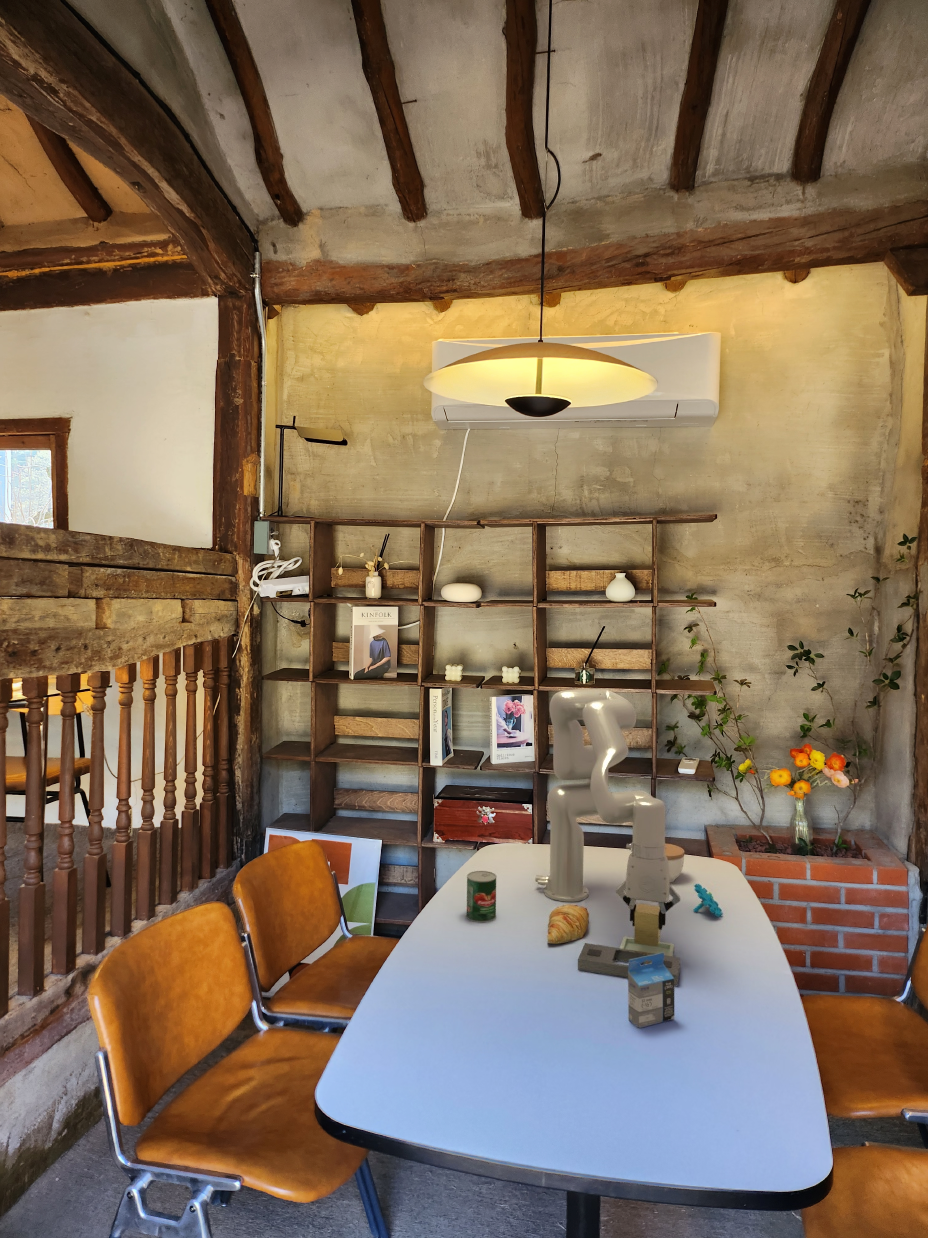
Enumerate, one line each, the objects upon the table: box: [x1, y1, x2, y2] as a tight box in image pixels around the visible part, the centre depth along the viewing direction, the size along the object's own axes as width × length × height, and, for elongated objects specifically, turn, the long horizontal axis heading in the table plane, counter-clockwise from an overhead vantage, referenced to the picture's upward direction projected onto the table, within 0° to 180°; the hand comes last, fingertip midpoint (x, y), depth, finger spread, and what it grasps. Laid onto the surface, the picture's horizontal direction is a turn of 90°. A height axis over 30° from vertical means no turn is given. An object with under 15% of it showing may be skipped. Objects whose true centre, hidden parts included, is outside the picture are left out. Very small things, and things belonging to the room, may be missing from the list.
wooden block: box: [633, 902, 661, 946], centre depth 188 cm, size 6×6×8 cm
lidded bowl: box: [665, 842, 685, 883], centre depth 239 cm, size 13×13×11 cm
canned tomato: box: [466, 870, 497, 924], centre depth 209 cm, size 8×8×11 cm
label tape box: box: [627, 953, 675, 1029], centre depth 158 cm, size 9×4×12 cm, turn 114°
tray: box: [619, 936, 675, 957], centre depth 188 cm, size 12×8×2 cm, turn 71°
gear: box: [692, 883, 723, 918], centre depth 214 cm, size 11×6×10 cm
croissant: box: [546, 904, 590, 945], centre depth 200 cm, size 21×10×8 cm, turn 149°
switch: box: [577, 942, 681, 987], centre depth 180 cm, size 22×9×3 cm, turn 71°
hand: (647, 925), depth 188 cm, fingers closed on wooden block, 5 cm apart
